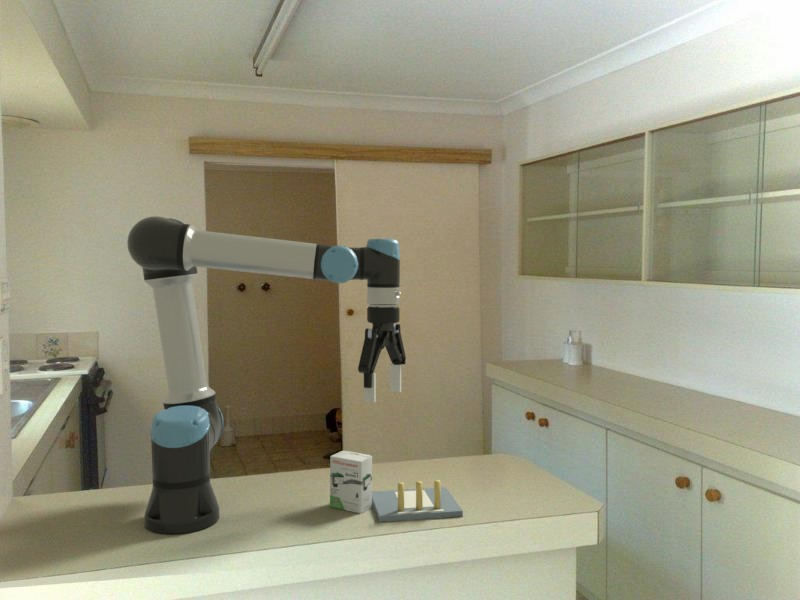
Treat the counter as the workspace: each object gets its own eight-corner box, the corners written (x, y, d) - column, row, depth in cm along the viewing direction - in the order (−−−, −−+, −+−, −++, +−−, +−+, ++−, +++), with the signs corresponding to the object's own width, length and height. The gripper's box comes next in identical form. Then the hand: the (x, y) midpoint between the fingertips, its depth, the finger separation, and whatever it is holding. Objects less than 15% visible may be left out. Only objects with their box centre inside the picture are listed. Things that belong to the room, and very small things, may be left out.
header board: (379, 521, 151) (379, 488, 150) (370, 496, 167) (369, 466, 166) (462, 516, 154) (462, 483, 153) (445, 492, 170) (445, 462, 169)
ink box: (328, 507, 160) (328, 455, 159) (341, 500, 164) (340, 449, 163) (361, 514, 155) (361, 460, 155) (373, 507, 160) (373, 454, 159)
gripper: (373, 309, 153) (373, 408, 154) (419, 303, 176) (419, 388, 177) (342, 308, 156) (342, 404, 157) (392, 302, 179) (391, 386, 180)
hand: (383, 396), depth 167 cm, fingers open, 13 cm apart
